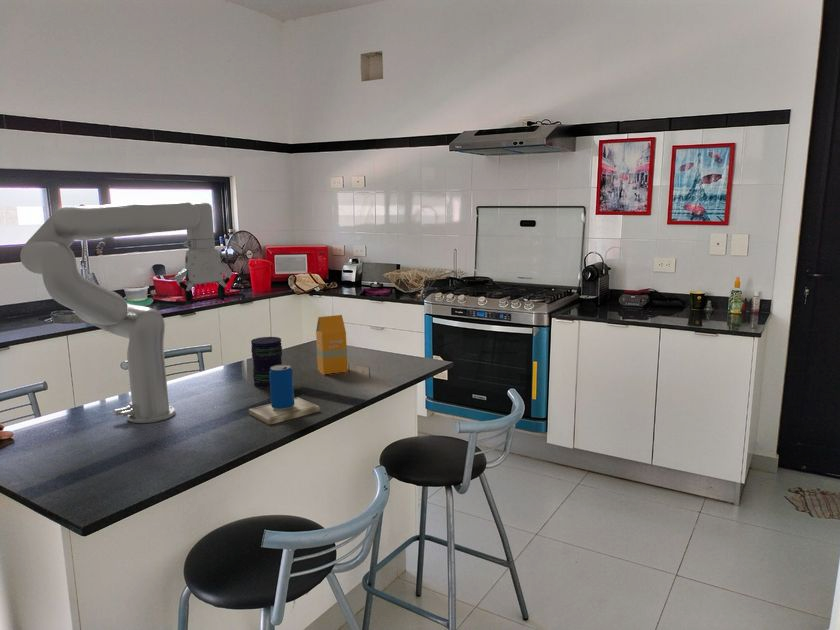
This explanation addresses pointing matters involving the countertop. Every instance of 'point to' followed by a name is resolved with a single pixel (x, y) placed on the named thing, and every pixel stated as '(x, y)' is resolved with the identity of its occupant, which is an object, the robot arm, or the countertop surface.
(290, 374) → the beverage can
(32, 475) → the countertop surface
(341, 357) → the orange juice
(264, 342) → the storage jar
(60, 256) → the robot arm
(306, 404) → the bamboo board
